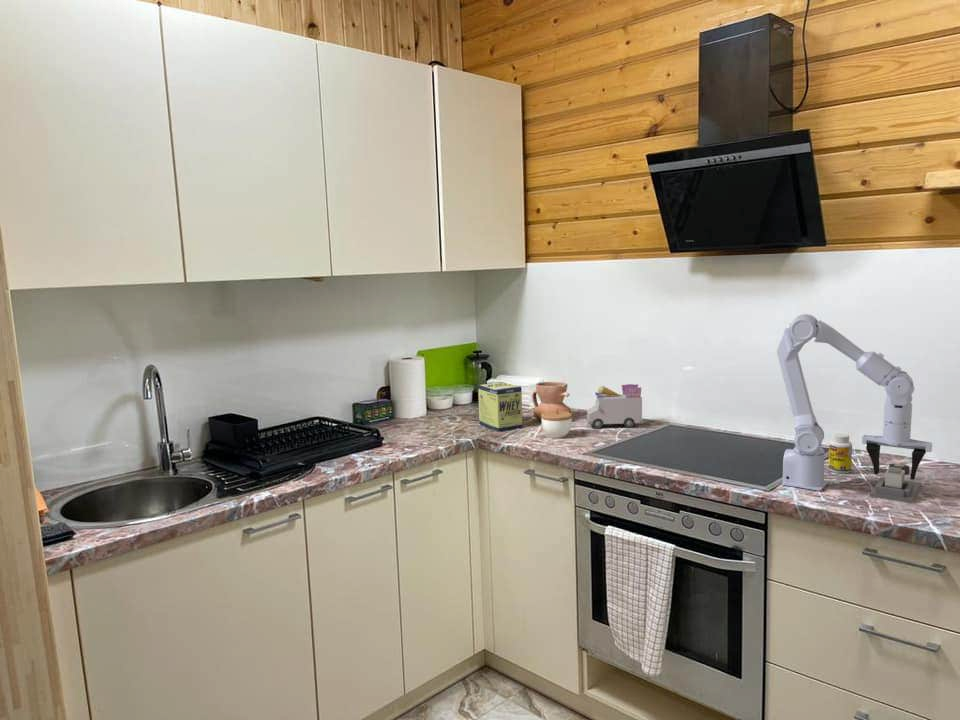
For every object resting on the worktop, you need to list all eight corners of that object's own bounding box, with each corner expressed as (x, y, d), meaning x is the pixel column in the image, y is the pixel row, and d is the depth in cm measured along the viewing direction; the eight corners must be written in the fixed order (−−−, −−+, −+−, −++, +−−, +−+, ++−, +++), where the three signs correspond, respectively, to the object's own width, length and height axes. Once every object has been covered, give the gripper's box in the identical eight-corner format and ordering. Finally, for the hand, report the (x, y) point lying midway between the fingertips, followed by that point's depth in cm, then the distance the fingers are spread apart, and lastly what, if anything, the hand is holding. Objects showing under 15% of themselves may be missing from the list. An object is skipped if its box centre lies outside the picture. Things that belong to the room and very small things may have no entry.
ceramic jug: (581, 419, 265) (580, 382, 264) (556, 425, 256) (555, 387, 254) (546, 414, 279) (545, 379, 277) (521, 420, 269) (520, 383, 268)
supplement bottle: (824, 471, 192) (825, 434, 190) (834, 467, 195) (835, 431, 194) (845, 475, 187) (846, 438, 186) (855, 471, 190) (856, 434, 189)
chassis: (869, 496, 170) (870, 486, 170) (880, 480, 182) (881, 471, 181) (912, 503, 165) (913, 493, 164) (921, 486, 176) (921, 476, 176)
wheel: (887, 473, 175) (887, 466, 175) (890, 468, 178) (890, 461, 178) (907, 475, 172) (908, 468, 172) (910, 471, 176) (910, 464, 175)
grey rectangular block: (884, 492, 170) (885, 470, 169) (887, 487, 173) (888, 465, 173) (900, 494, 168) (902, 472, 167) (903, 489, 171) (904, 467, 170)
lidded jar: (578, 437, 239) (578, 410, 238) (551, 441, 234) (551, 414, 233) (561, 430, 248) (561, 405, 247) (535, 435, 244) (535, 408, 243)
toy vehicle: (585, 424, 258) (585, 384, 256) (638, 422, 257) (638, 382, 255) (588, 430, 249) (588, 388, 247) (643, 428, 248) (643, 387, 246)
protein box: (498, 432, 250) (497, 389, 248) (478, 424, 264) (477, 384, 262) (523, 428, 255) (522, 386, 253) (502, 420, 268) (501, 381, 266)
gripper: (860, 421, 170) (858, 475, 172) (930, 428, 161) (927, 485, 163) (866, 416, 175) (863, 468, 177) (934, 422, 166) (931, 477, 168)
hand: (894, 475), depth 170 cm, fingers open, 7 cm apart
